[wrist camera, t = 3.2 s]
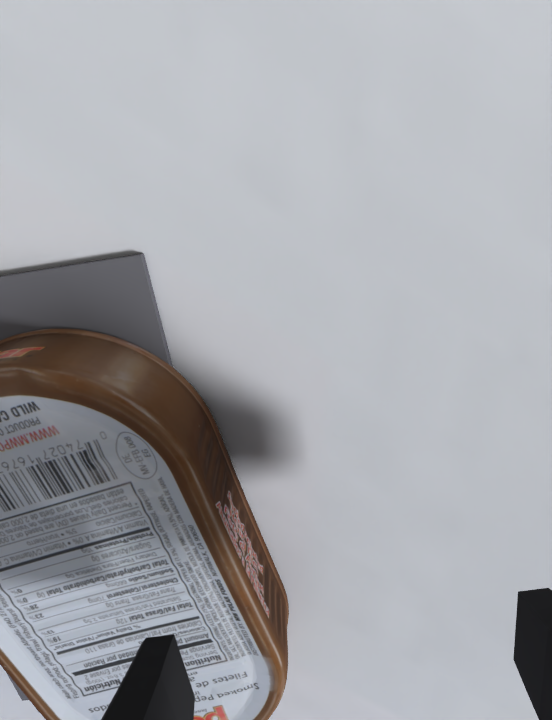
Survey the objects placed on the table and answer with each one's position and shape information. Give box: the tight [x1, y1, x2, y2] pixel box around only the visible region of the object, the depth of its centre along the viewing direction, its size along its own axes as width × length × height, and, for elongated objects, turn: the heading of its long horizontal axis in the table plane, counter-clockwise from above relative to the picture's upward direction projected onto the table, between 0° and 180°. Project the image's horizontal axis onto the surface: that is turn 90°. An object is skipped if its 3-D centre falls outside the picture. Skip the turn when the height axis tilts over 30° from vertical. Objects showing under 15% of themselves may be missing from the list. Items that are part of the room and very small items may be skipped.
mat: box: [0, 253, 173, 701], centre depth 15 cm, size 16×9×1 cm, turn 9°
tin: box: [0, 328, 289, 720], centre depth 14 cm, size 15×3×8 cm
